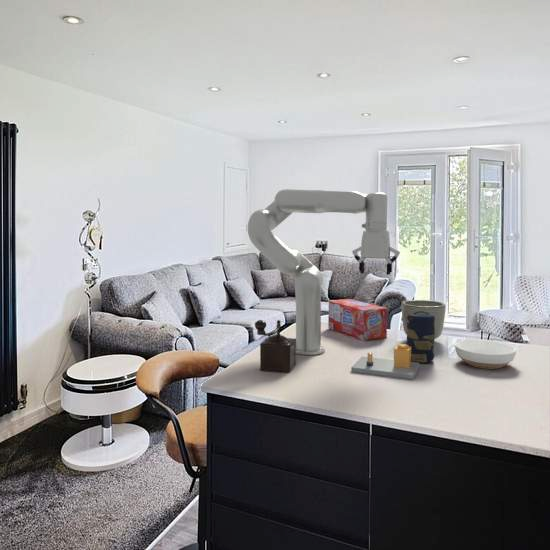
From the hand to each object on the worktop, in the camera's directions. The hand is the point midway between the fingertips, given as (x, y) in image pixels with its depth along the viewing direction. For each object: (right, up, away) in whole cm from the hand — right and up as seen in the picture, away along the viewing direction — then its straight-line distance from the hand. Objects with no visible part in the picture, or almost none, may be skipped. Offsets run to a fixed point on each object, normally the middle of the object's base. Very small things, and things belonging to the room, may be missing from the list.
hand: (375, 273), depth 177 cm
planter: (+24, -28, +22) cm, 43 cm away
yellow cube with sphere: (+6, -31, -16) cm, 35 cm away
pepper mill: (-37, -33, -15) cm, 51 cm away
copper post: (-5, -32, -15) cm, 36 cm away
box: (-1, -27, +37) cm, 45 cm away
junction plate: (0, -32, -15) cm, 36 cm away
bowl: (+36, -32, -9) cm, 49 cm away
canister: (+15, -31, -5) cm, 35 cm away
